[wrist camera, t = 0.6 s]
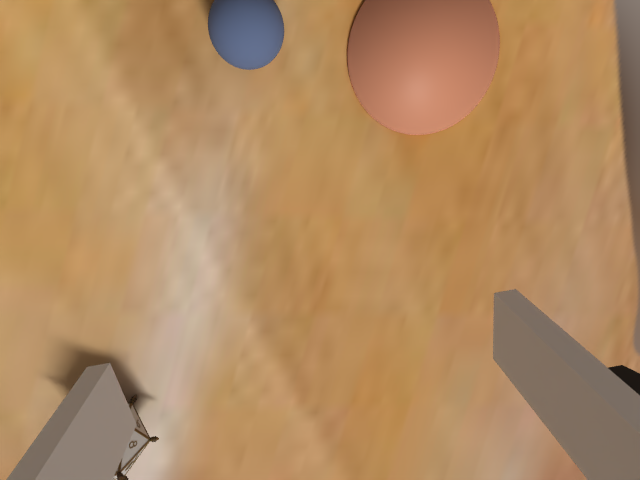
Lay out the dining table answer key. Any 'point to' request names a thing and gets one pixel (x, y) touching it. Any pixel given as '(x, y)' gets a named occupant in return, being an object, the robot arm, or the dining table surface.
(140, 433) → the game die
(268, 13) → the ball
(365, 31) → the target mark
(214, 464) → the dining table surface
